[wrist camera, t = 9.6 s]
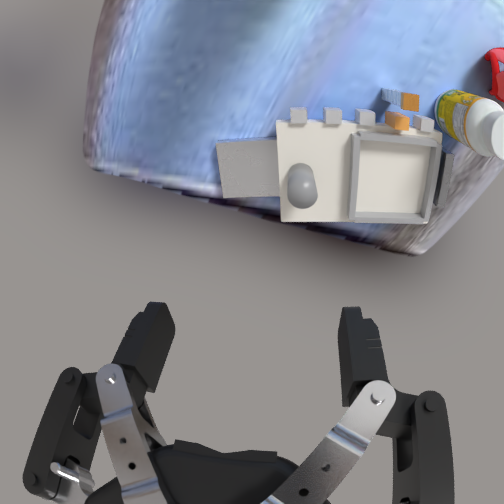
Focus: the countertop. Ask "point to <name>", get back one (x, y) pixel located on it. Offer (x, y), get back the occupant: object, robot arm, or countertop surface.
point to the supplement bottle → (472, 121)
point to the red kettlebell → (496, 72)
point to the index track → (267, 170)
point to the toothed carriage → (357, 167)
